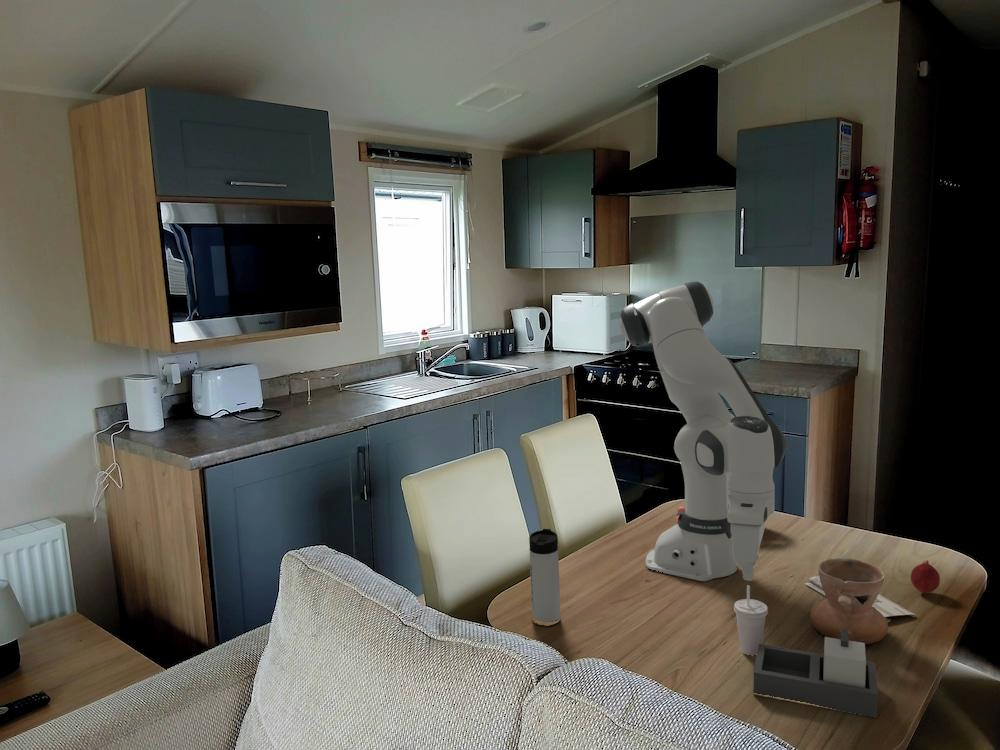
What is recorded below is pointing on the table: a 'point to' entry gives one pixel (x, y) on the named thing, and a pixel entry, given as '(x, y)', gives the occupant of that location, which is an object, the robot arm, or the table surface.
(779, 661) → the dark grey slotted box
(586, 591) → the table surface
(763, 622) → the smoothie
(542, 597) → the travel mug
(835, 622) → the ceramic jug
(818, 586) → the newspaper
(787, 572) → the table surface
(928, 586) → the onion
